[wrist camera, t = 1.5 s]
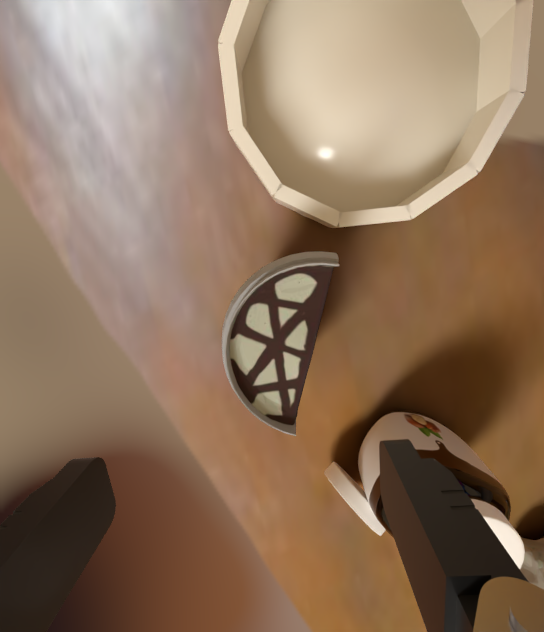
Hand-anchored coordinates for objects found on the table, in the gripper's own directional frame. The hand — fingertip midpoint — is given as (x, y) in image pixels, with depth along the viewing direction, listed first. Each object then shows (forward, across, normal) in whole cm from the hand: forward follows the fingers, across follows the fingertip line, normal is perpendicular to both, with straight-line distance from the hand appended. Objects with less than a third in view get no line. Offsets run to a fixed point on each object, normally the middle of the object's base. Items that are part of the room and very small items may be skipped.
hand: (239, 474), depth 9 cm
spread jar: (+20, -10, +16) cm, 28 cm away
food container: (+20, 0, 0) cm, 21 cm away
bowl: (+20, -8, -16) cm, 27 cm away
